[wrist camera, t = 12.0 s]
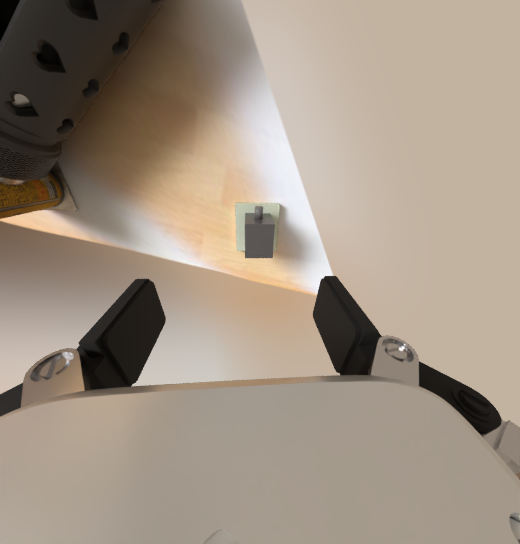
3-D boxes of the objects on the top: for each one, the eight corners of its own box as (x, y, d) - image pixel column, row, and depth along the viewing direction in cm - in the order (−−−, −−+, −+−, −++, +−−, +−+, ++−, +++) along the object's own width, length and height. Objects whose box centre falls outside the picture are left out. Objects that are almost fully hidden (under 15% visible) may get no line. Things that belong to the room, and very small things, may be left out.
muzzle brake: (200, 10, 19) (163, -115, 11) (65, 186, 27) (-23, 199, 18) (114, -140, 15) (-69, -559, 6) (-18, 119, 23) (-186, 94, 14)
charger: (244, 202, 28) (244, 211, 23) (270, 202, 29) (275, 211, 24) (245, 243, 32) (245, 259, 27) (268, 243, 32) (272, 259, 27)
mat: (235, 202, 29) (235, 203, 28) (278, 203, 30) (279, 204, 29) (237, 248, 34) (236, 251, 33) (275, 248, 34) (276, 251, 33)
